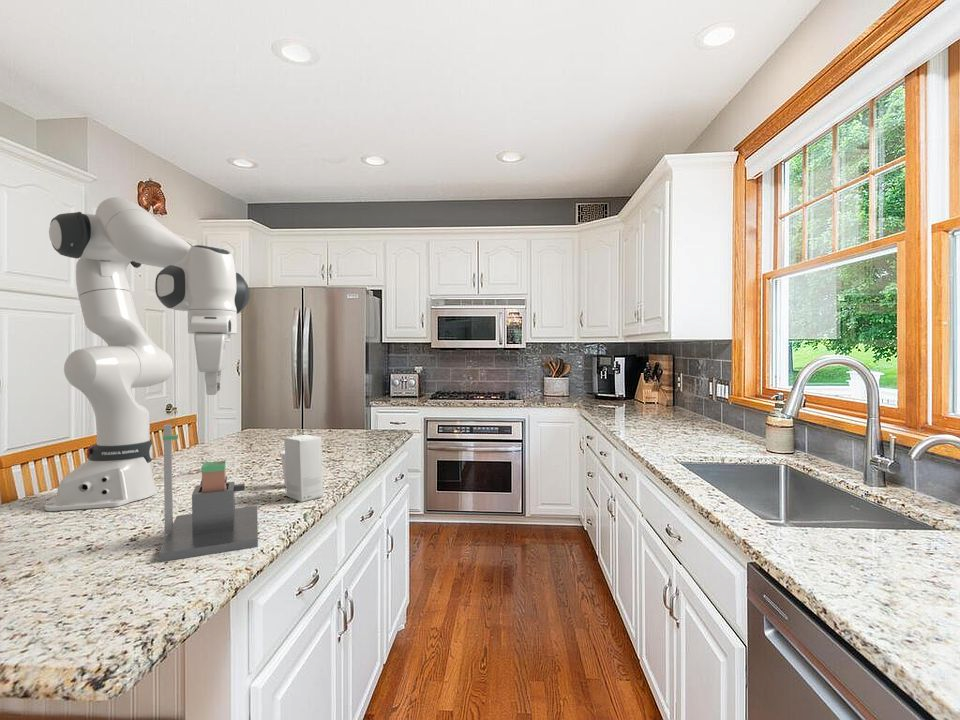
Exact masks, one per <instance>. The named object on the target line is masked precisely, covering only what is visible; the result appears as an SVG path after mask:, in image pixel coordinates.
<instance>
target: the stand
mask: <svg viewBox="0 0 960 720" xmlns="http://www.w3.org/2000/svg"><path fill="white" fill-rule="evenodd" d="M172 427H173V425H172V424H164V425H163V428H162V429H163V436H162V441H163V489H164V490H163V491H164V492H163V494H164V499H163V501H164V502H163V503H164V535H167V536H166V538H165V541H164V542H163V545H162V546H161V548H160V550H159V552H158V563H161V561H163V562H168V560H169V561H174V559H175V560H181V559H180V558H182V559H187V557H188V558H193V557H200V555H201V556H206V554H207V555H213V554H212V553H214V554H218V553H217V552H220V553H224V552H223V551H226V552H230V551H229V550H233V551H237V549H239V550H244V549H243V548H245V549H250V547H252V548H257V547H259V535H258V530H259V529H258V528H259V527H258V505H252V506H245V507H244V506H243V507H237V508H236V505H235V504H236V502H235V501H236V499H235V497H236V495H235V494H236V493H235V492H241V491H243V492H244V491H245V486H246V485H245V483H239V484H237V483H236V484H235V481H228V482H226V486H227V490H220V491H210V492H201V490H202V485H199V484H196V485H195V487H194V489H193V491H192V494H191V513H188V514H182V515H181V514H179V515H176V517H175V519H174V518H173V516H174V515H173V512H174V511H173V508H174V507H173V503H174V502H173V500H174V499H173V449H172V448H173V440H178V439H179V435H178V434H173V430H172V429H173V428H172Z"/></svg>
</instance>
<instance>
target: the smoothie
mask: <svg viewBox="0 0 960 720" xmlns="http://www.w3.org/2000/svg"><path fill="white" fill-rule="evenodd" d="M294 436H295V435H291V437H294ZM279 457H280V458H281V459H280V460H281V467H282V473H283V481H284V487H285V488H286V465H285V450H282V451H280V452H279Z"/></svg>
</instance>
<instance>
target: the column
mask: <svg viewBox="0 0 960 720" xmlns="http://www.w3.org/2000/svg"><path fill="white" fill-rule="evenodd" d="M226 467H227V461H226V460H219V461H206V462H203V463H202V465H201V481H200V485H202V490H201V492H210V491H220V490H227V486H226V482H227V481H228V475H227V474H226V473H227V468H226Z"/></svg>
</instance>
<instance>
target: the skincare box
mask: <svg viewBox="0 0 960 720" xmlns="http://www.w3.org/2000/svg"><path fill="white" fill-rule="evenodd" d="M293 436H294V437H292V436H290V437H284V451H285V465H286V487H285V489H286V497H287V496H288V498H290V499H292V498H293V500H295V501H298V502H300V503H302V502H308V501H311V500H315V499H320V498H322V497H324V477H323V476H324V475H323V474H324V473H323V472H324V471H323V450H322V449H323V448H322V437H321V436H315V435H312V434H311V435H309V434H301V435H293Z"/></svg>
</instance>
